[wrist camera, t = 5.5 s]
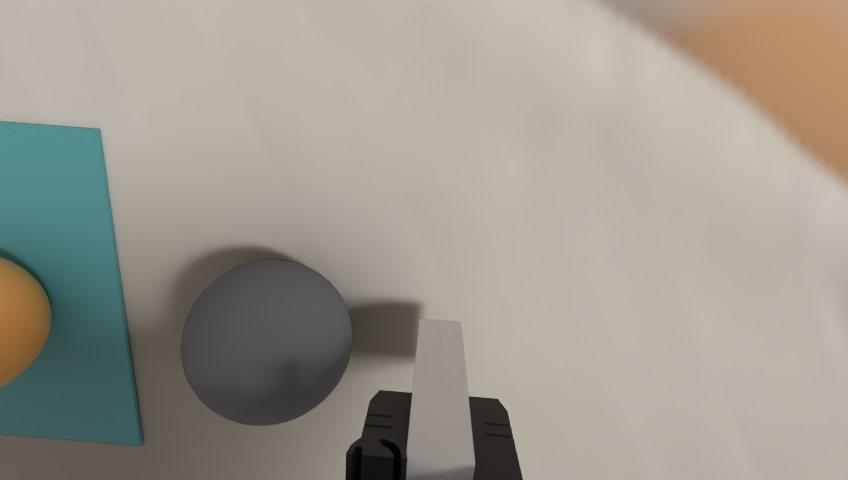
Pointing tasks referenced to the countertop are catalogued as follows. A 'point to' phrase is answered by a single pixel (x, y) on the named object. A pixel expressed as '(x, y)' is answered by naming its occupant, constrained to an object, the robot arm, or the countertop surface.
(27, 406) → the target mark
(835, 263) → the countertop surface
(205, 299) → the gray ball
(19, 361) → the object ball
